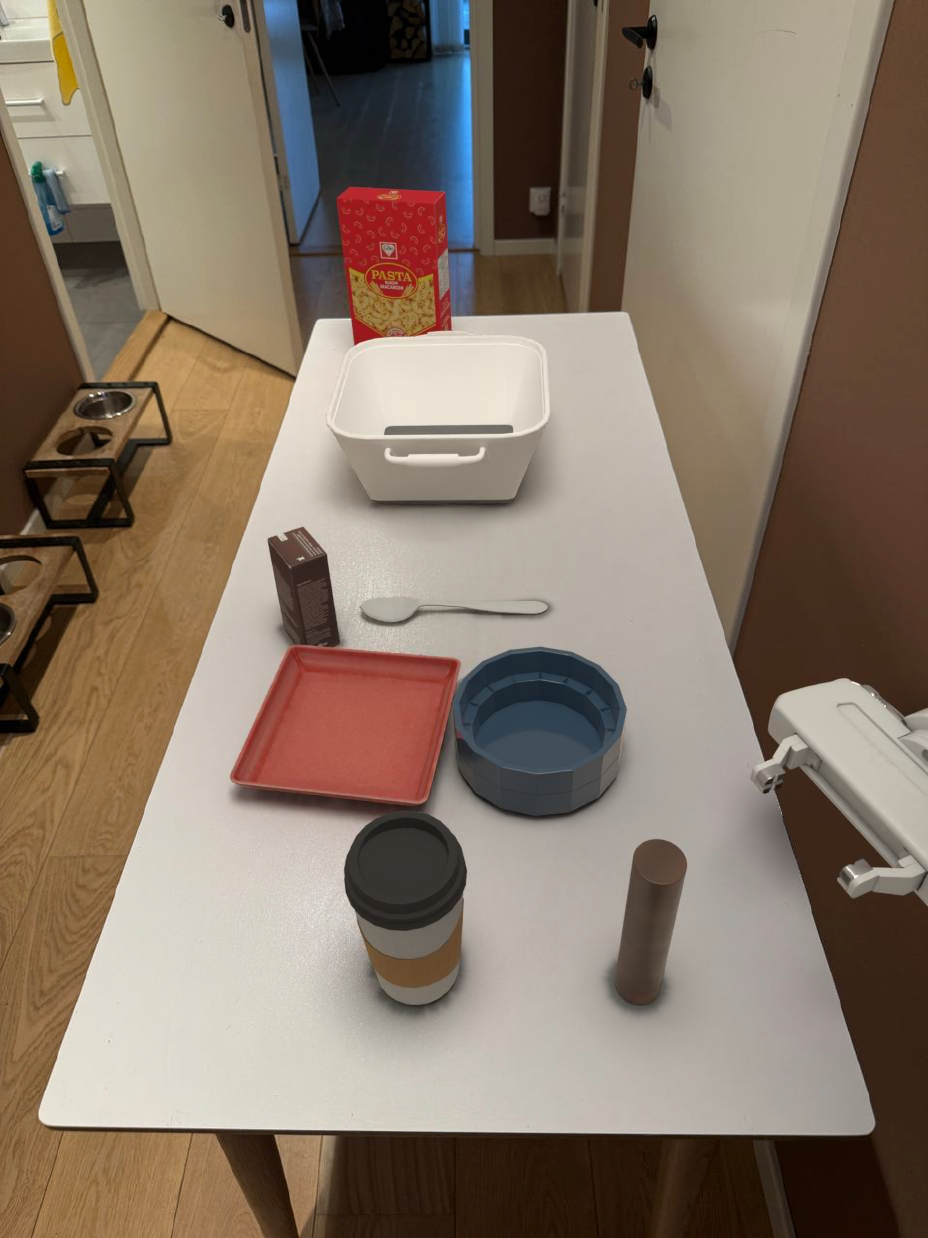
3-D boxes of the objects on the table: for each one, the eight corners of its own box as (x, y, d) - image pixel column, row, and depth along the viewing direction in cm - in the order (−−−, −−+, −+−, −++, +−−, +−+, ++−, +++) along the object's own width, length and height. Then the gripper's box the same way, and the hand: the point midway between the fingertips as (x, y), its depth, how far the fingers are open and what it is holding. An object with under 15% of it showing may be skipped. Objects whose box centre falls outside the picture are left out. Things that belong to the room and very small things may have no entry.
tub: (550, 545, 110) (553, 452, 102) (328, 546, 112) (313, 454, 103) (543, 406, 136) (545, 322, 127) (362, 408, 137) (352, 325, 129)
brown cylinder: (669, 979, 70) (696, 856, 59) (645, 1014, 68) (670, 894, 57) (629, 953, 71) (650, 830, 61) (606, 987, 69) (622, 865, 59)
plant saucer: (233, 803, 83) (225, 780, 81) (293, 664, 97) (288, 641, 94) (429, 827, 81) (426, 804, 78) (464, 681, 94) (462, 657, 92)
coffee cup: (380, 911, 75) (360, 796, 65) (481, 928, 73) (477, 813, 63) (350, 1010, 69) (323, 900, 59) (460, 1031, 67) (451, 922, 57)
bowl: (650, 740, 87) (657, 693, 83) (559, 850, 78) (562, 802, 74) (519, 673, 94) (520, 625, 90) (423, 766, 86) (418, 718, 82)
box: (343, 642, 99) (328, 553, 91) (305, 658, 97) (286, 569, 89) (319, 612, 103) (303, 523, 95) (282, 627, 101) (262, 538, 93)
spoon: (362, 603, 104) (360, 592, 103) (545, 595, 103) (546, 584, 102) (359, 628, 101) (358, 617, 99) (549, 620, 100) (549, 608, 99)
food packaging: (356, 360, 149) (336, 198, 133) (367, 346, 153) (349, 186, 136) (443, 369, 146) (434, 203, 129) (452, 354, 150) (445, 191, 133)
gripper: (865, 645, 73) (717, 699, 69) (1089, 844, 59) (919, 925, 55) (845, 701, 77) (706, 754, 73) (1051, 898, 63) (891, 978, 59)
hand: (799, 830), depth 64 cm, fingers open, 8 cm apart
